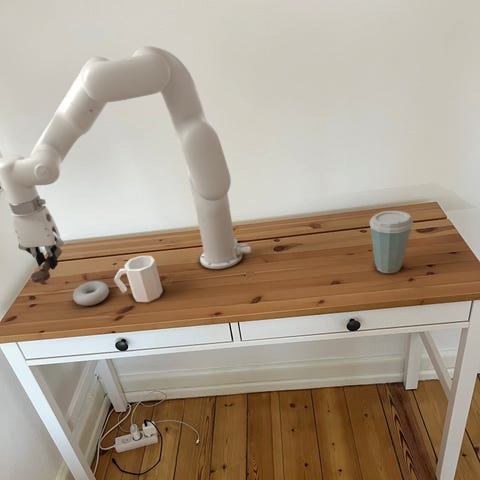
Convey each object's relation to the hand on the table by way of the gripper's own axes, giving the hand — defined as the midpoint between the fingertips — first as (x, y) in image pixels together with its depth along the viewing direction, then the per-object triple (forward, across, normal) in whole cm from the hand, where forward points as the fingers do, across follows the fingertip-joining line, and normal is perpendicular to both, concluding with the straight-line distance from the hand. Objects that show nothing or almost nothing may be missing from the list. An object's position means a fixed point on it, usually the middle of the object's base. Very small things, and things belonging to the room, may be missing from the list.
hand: (49, 266), depth 148 cm
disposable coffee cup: (+9, -92, -3) cm, 93 cm away
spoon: (0, 0, +1) cm, 1 cm away
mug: (+10, -25, +2) cm, 27 cm away
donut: (+10, -10, +2) cm, 15 cm away
